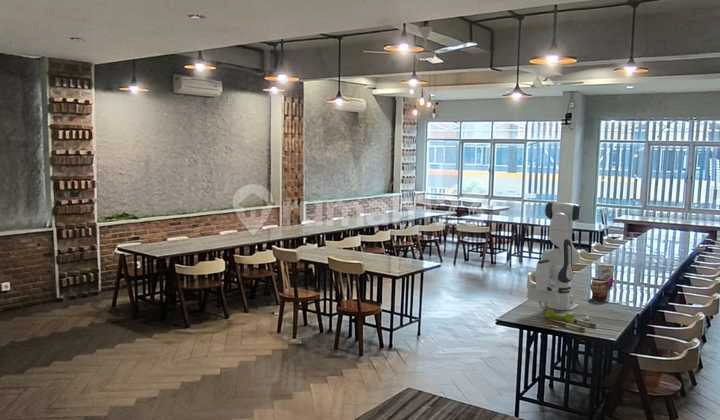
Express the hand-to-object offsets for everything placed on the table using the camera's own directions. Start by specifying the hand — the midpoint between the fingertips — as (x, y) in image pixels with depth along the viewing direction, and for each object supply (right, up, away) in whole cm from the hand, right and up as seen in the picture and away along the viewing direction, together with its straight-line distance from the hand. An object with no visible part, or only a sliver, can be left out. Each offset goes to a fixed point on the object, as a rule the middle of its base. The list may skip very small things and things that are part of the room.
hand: (542, 308), depth 354 cm
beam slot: (+12, -7, -12) cm, 18 cm away
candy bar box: (+77, +2, +92) cm, 120 cm away
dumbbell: (+8, -7, -7) cm, 13 cm away
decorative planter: (+56, -2, +50) cm, 75 cm away
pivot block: (+23, -7, -10) cm, 26 cm away
